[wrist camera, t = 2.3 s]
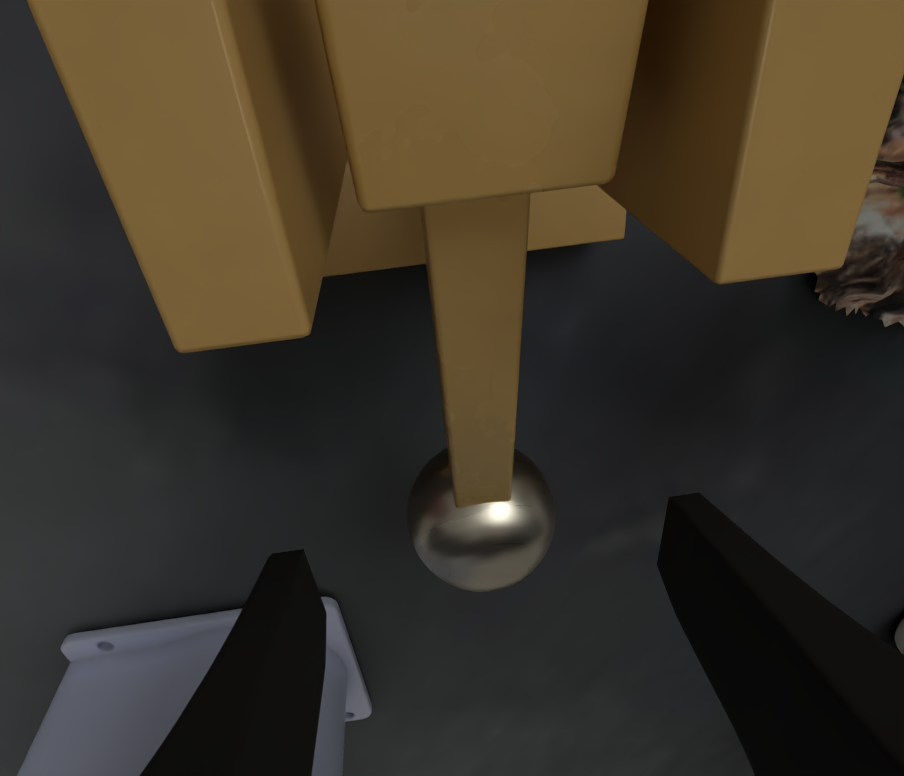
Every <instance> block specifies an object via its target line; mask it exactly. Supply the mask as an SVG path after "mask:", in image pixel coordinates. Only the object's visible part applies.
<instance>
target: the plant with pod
mask: <svg viewBox="0 0 904 776" xmlns="http://www.w3.org/2000/svg"><path fill="white" fill-rule="evenodd" d="M900 89H901V93H899V94H898V95H897V97H896V100H895V103H894V105H897V107H895V108H893V110H892V113H891V116H890V119H889V122H888V126H887V129H886V132H885V135H884V138H883V141H882V144H881V148H880V151H879V154H878V157H877V160H876V163H875V166H874V170H873V173H872V176H871V179H870V182H869V185H868V189H867V192H866V195H865V198H864V201H863V204H862V207H861V211H860V214H859V217H858V220H857V223H856V226H855V230H854V233H853V236H852V239H851V242H850V245H849V248H848V252H847V255H846V258H845V261H844V264H843V265H842V267H841V268H839V269H834V270H826V271H819V272H815V274H816V275H817V276H818V280H817V284H816V288H815V292H817V293H820V294H821V295H820V297H819V301H821V302H823V303H825V304H826V305H825V306H827V305H829V307H831V306H832V305H834V304H835V303H836V309H835V311H837V310H839V309H842V308H844V307H846V315H848V314H849V313H850V312H851V311H852V310H853V309H854V308H855V315H856V313H857V311H858V309H859V307H860V309H861V310H862V312H863V314H864V315H865V317H866V316H867V315H869V314H870V313H871V312H872V313H873V317H874V320H883V323H884V326H885V327H886V326H889V325H891V324H893V323H896V322H898V321H899V322H900V323H901V324H902V325H903V326H904V82H903V83H901V85H900ZM829 307H828V308H829Z"/></svg>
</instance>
